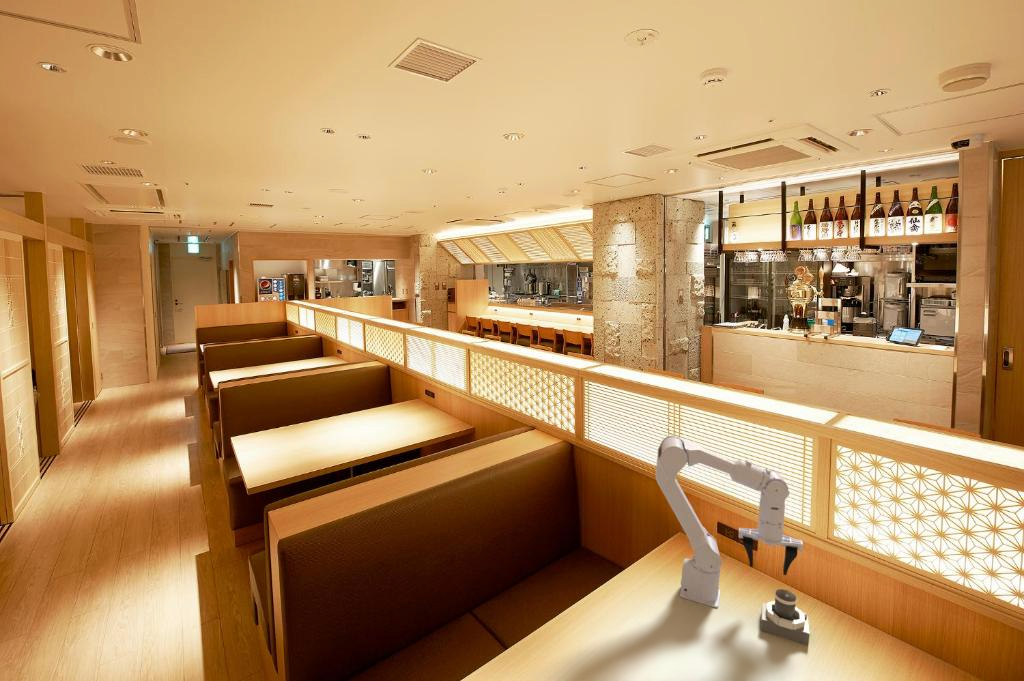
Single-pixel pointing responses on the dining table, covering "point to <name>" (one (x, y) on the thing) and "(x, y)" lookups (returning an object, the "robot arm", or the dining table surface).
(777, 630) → the octagonal ring base
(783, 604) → the lens
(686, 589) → the robot arm
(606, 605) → the dining table surface
